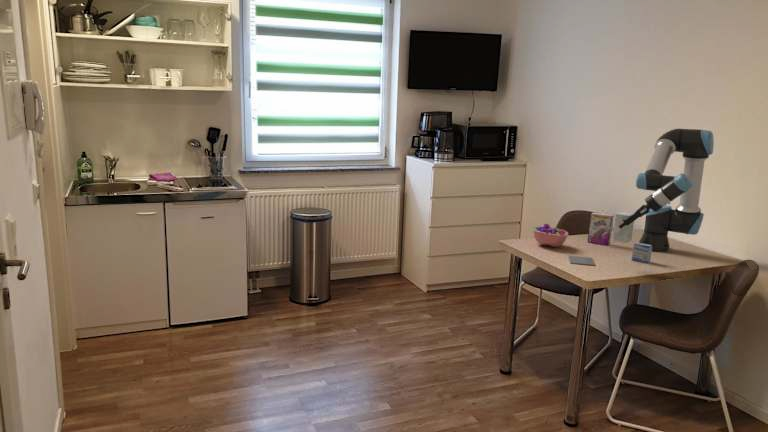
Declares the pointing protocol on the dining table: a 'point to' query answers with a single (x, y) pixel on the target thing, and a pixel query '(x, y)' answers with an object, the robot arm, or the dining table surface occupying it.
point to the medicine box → (641, 252)
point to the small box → (626, 232)
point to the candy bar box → (600, 228)
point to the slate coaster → (581, 260)
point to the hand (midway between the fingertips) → (615, 229)
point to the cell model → (549, 235)
